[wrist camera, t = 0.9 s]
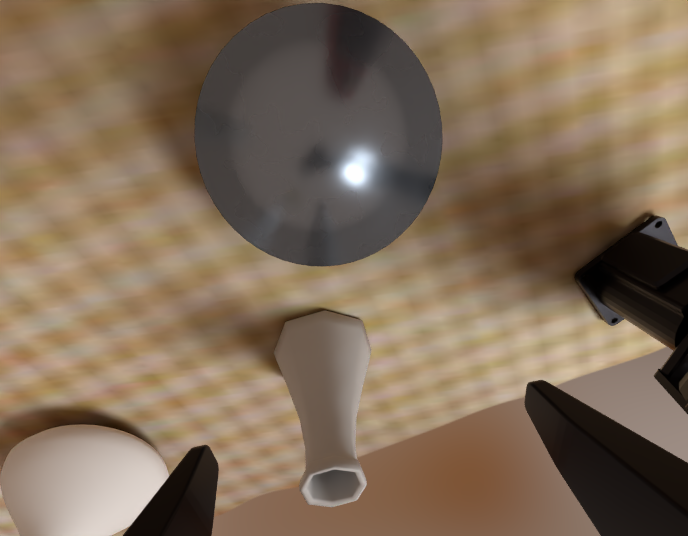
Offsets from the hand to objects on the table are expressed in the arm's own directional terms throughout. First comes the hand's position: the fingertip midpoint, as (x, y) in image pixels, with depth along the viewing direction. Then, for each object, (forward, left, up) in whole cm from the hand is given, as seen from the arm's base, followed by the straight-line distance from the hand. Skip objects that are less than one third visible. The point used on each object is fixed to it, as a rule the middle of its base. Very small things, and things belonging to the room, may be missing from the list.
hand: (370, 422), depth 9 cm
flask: (-5, +6, -13) cm, 16 cm away
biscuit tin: (+5, -4, -13) cm, 15 cm away
